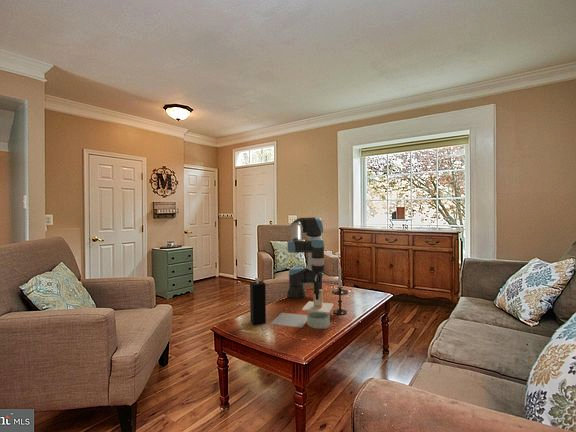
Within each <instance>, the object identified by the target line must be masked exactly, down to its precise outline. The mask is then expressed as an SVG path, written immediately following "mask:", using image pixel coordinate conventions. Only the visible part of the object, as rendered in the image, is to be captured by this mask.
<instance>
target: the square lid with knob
mask: <svg viewBox="0 0 576 432" xmlns="http://www.w3.org/2000/svg"><path fill="white" fill-rule="evenodd" d="M319 294H320V305H315V294H314V289H313V292H312V295H313V301H310V300H308V302H307V303H306V304H305V305H304V306H303V308H301V312H308V313H310V312H319V313H328V314H329V315H330V312H331V311H332V309H333V307H334V306H335V303H332V302H324V296H323V295H324V290H323V288H322V289H319Z"/></svg>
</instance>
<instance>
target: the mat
mask: <svg viewBox="0 0 576 432" xmlns="http://www.w3.org/2000/svg"><path fill="white" fill-rule="evenodd" d="M307 315H308V314H299V313H298V314H297V313H288V312H280V313H279V315H277V317H275V318H274V319H273V320H272V321H271V323H269V324H271V325H278V326H285V327H294V328H303V327H304V325H305V324H307V323H306V322H307Z"/></svg>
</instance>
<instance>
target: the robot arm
mask: <svg viewBox="0 0 576 432" xmlns="http://www.w3.org/2000/svg"><path fill="white" fill-rule="evenodd" d="M289 231H290V233H291V234H290V240H288V241H287V252H288V253H294V254H295V253H296V254H298V253H307V265H306V266H305V268H304V266H293V267H291V268H289V270H288V282H289V283H288V289H287V292H286V297H287V298H288V299H292V300H299V299H305V298H306V297H307V292H306V290H305V287H304V284H313V290H314V294H315V305H320V294H319V289H323V277H324V276H323V273H324V271H325V241H324V239H323V238H320V237H322V234H323V233H324V225H323V220H322V218H321V217H316V216H315V217H313V216H312V217H311V216H310V217H299V218H296V219H295V220H293V221H292V222H291V224H290V226H289ZM303 234H306V237H307V240H303Z"/></svg>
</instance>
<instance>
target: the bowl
mask: <svg viewBox="0 0 576 432" xmlns="http://www.w3.org/2000/svg"><path fill="white" fill-rule="evenodd" d="M306 315H307V321H306V322H307V323H306V325H308V327H310V328H312V329H325V330H326V329H328V328H329V327H330V326H331V324H330V323H331V320H330V319H331V318H330V317H331V315H330V313H329V314H328V313H319V312H308V313H307V314H306Z"/></svg>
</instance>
